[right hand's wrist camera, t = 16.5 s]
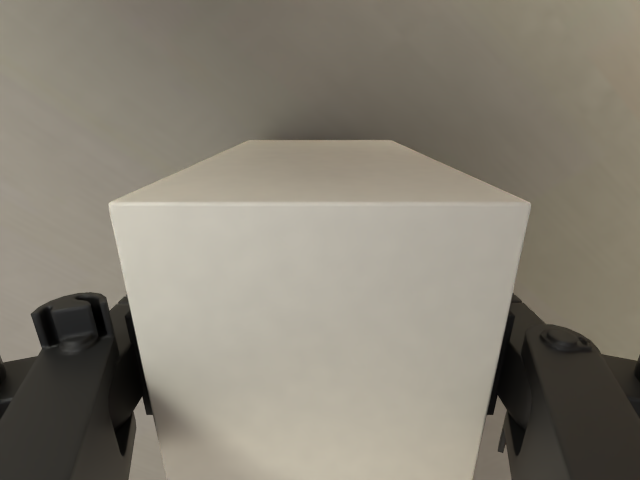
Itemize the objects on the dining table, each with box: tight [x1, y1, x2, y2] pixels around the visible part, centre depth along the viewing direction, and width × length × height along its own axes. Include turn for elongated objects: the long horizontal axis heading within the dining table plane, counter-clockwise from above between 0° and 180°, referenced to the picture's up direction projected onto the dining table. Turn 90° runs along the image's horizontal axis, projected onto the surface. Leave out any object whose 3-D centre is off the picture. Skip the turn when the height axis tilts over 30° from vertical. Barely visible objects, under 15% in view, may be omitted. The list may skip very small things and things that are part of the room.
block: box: [108, 140, 531, 480], centre depth 12 cm, size 8×7×12 cm
